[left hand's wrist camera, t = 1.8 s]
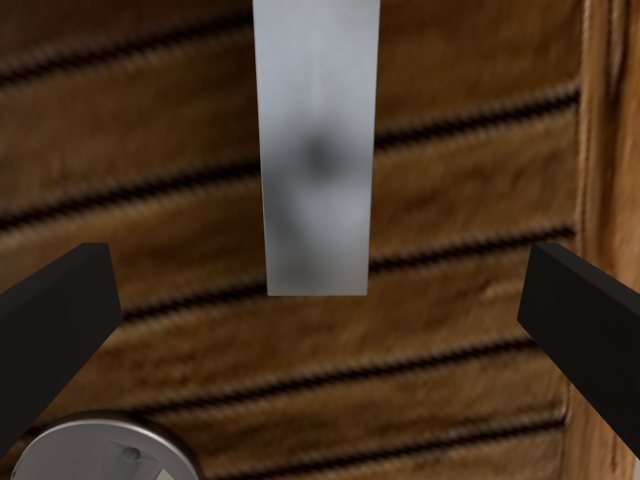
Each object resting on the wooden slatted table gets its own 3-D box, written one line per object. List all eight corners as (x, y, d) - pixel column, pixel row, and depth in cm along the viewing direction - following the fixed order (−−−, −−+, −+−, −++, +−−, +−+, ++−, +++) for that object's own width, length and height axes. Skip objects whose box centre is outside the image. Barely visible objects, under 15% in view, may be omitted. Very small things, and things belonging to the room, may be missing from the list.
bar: (352, 238, 27) (367, 295, 19) (282, 238, 27) (267, 296, 19) (364, -157, 20) (395, -324, 12) (268, -157, 20) (235, -325, 12)
